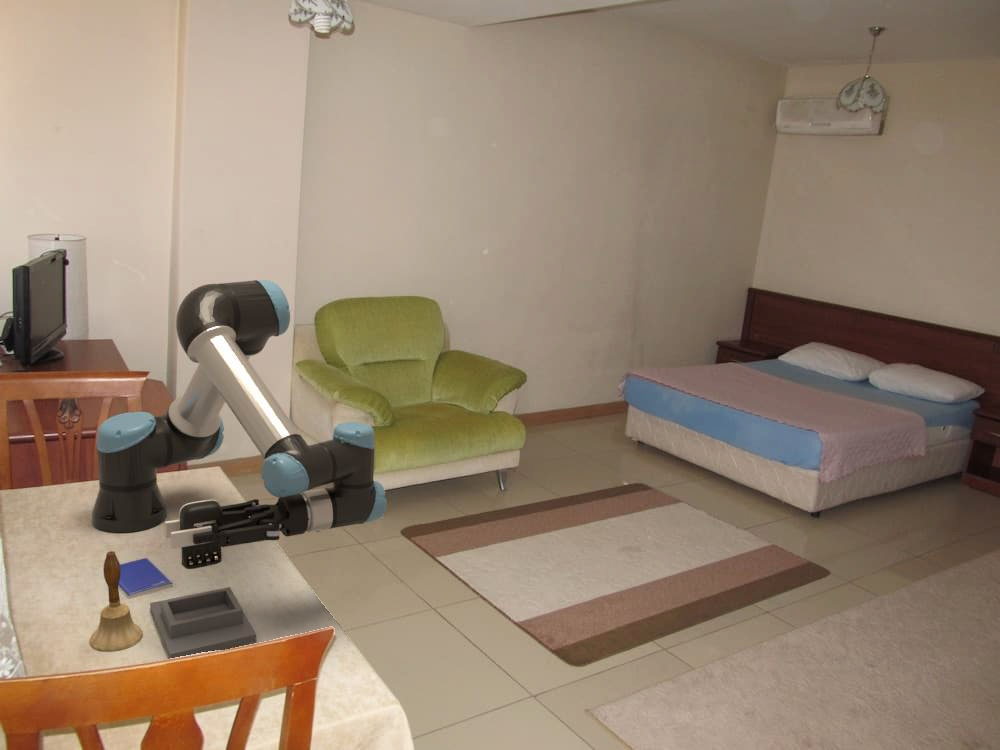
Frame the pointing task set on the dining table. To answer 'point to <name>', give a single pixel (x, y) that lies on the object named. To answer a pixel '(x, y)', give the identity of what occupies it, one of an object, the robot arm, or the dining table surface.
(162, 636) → the dock
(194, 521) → the battery charger
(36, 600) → the dining table surface
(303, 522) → the robot arm
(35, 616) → the dining table surface
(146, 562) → the hard drive
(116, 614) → the hand bell
